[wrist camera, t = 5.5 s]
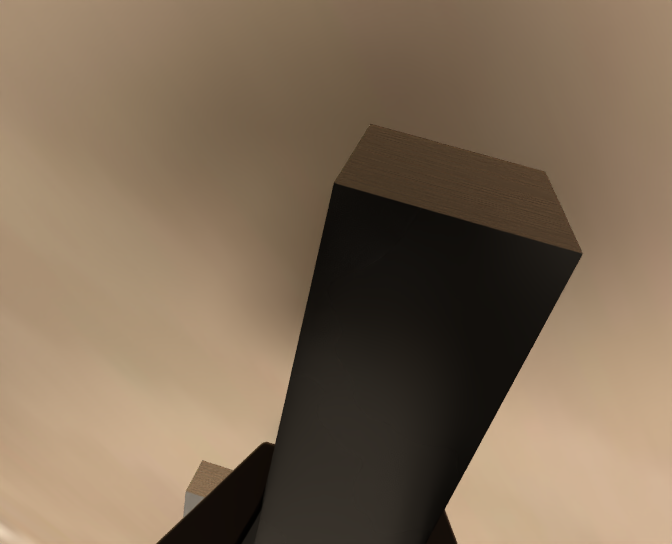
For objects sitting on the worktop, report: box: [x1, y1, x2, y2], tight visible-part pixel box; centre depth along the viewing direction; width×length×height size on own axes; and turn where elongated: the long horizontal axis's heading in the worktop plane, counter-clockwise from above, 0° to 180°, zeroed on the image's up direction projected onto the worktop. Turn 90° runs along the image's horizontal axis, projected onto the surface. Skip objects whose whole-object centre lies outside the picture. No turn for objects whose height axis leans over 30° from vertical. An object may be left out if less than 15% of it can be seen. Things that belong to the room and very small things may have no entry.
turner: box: [183, 124, 583, 544], centre depth 9 cm, size 13×6×2 cm, turn 167°
